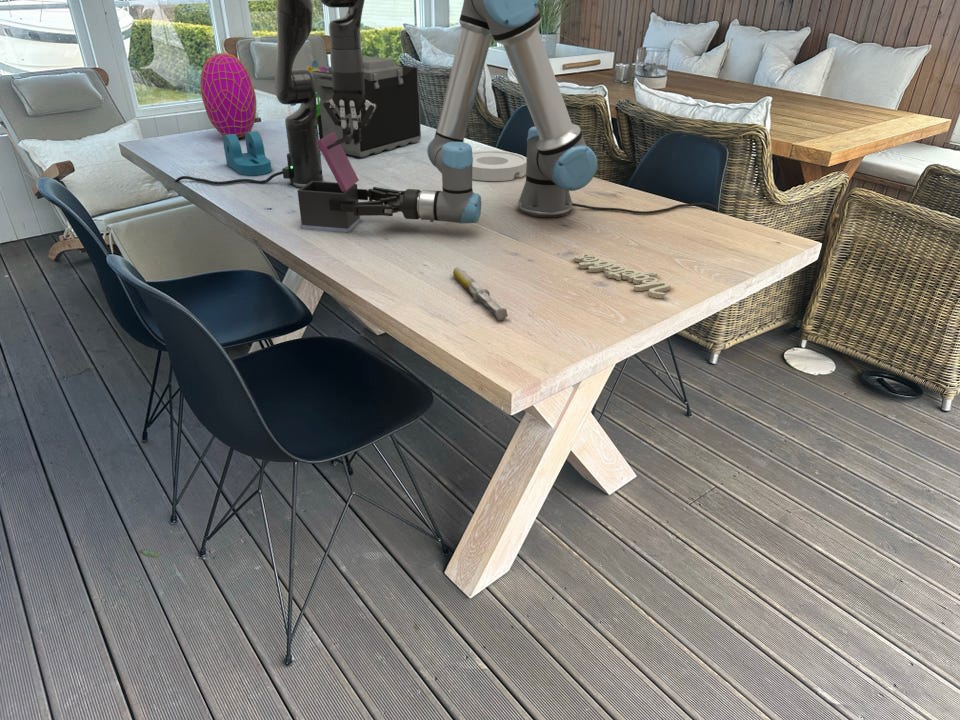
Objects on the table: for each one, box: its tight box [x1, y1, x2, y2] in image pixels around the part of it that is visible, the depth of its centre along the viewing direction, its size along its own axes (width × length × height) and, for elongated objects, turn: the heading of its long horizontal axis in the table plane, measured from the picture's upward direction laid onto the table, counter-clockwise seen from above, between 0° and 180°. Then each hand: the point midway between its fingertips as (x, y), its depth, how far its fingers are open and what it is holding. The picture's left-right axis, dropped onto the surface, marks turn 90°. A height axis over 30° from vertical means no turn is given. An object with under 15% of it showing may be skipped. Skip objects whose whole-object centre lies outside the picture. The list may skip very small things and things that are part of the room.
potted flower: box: [305, 58, 329, 124], centre depth 287 cm, size 9×8×25 cm
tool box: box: [311, 55, 422, 159], centre depth 250 cm, size 37×22×30 cm, turn 144°
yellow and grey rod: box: [452, 266, 509, 321], centre depth 145 cm, size 25×4×3 cm, turn 21°
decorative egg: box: [200, 52, 257, 139], centre depth 259 cm, size 19×19×30 cm
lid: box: [317, 132, 360, 192], centre depth 173 cm, size 13×9×8 cm
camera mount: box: [222, 131, 272, 176], centre depth 226 cm, size 18×10×10 cm, turn 35°
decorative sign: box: [574, 252, 671, 299], centre depth 155 cm, size 26×1×10 cm
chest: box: [297, 181, 361, 233], centre depth 180 cm, size 13×9×10 cm
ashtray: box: [472, 150, 527, 182], centre depth 228 cm, size 23×23×4 cm
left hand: (352, 143), depth 171 cm, fingers closed
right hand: (337, 198), depth 179 cm, fingers closed on chest, 9 cm apart
